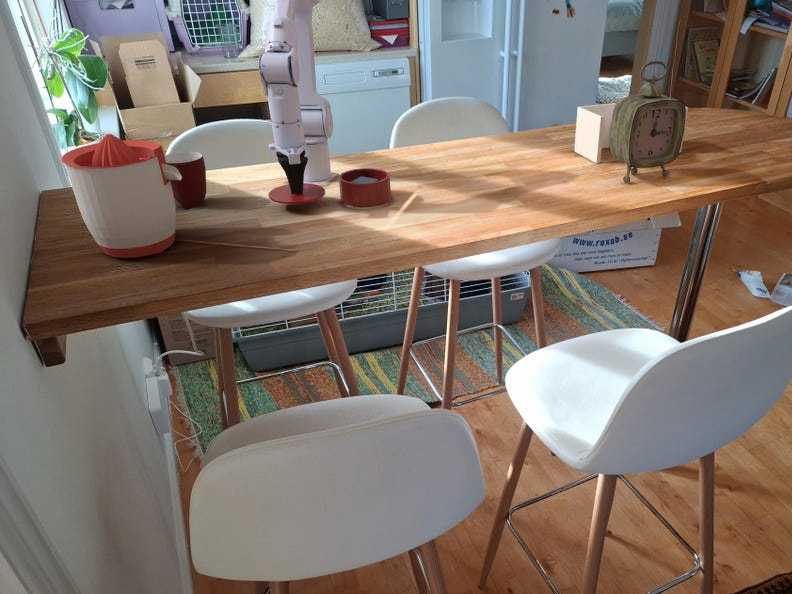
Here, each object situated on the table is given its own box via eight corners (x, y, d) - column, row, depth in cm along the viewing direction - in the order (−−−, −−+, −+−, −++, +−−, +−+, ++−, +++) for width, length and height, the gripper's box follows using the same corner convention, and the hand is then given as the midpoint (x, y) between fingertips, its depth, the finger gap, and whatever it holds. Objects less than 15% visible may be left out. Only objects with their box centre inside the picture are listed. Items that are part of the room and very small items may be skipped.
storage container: (656, 141, 185) (662, 98, 179) (681, 152, 176) (688, 107, 170) (574, 151, 177) (577, 106, 171) (596, 163, 168) (600, 116, 162)
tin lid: (259, 204, 136) (254, 179, 133) (283, 186, 145) (280, 162, 143) (312, 209, 134) (309, 183, 132) (334, 190, 144) (331, 166, 141)
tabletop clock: (623, 186, 154) (638, 66, 140) (601, 174, 160) (613, 59, 147) (676, 178, 159) (695, 61, 145) (652, 167, 166) (668, 55, 152)
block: (352, 200, 144) (350, 181, 142) (362, 194, 147) (361, 176, 145) (369, 203, 142) (367, 184, 140) (380, 198, 145) (378, 179, 143)
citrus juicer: (194, 258, 120) (166, 141, 109) (84, 269, 116) (45, 150, 105) (198, 225, 133) (173, 118, 122) (99, 235, 129) (65, 125, 118)
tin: (333, 207, 141) (330, 182, 138) (351, 191, 150) (349, 166, 147) (382, 211, 140) (380, 185, 137) (397, 194, 148) (396, 169, 145)
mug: (159, 216, 137) (146, 166, 131) (157, 203, 143) (145, 155, 137) (215, 209, 140) (204, 160, 135) (211, 197, 146) (200, 149, 141)
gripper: (262, 112, 136) (273, 180, 144) (267, 131, 125) (279, 203, 132) (298, 110, 138) (307, 177, 146) (307, 128, 127) (316, 199, 134)
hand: (296, 189), depth 139 cm, fingers closed on tin lid, 2 cm apart
